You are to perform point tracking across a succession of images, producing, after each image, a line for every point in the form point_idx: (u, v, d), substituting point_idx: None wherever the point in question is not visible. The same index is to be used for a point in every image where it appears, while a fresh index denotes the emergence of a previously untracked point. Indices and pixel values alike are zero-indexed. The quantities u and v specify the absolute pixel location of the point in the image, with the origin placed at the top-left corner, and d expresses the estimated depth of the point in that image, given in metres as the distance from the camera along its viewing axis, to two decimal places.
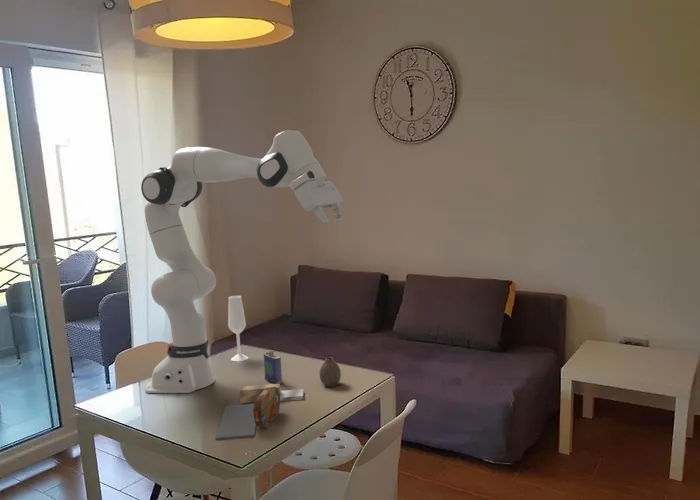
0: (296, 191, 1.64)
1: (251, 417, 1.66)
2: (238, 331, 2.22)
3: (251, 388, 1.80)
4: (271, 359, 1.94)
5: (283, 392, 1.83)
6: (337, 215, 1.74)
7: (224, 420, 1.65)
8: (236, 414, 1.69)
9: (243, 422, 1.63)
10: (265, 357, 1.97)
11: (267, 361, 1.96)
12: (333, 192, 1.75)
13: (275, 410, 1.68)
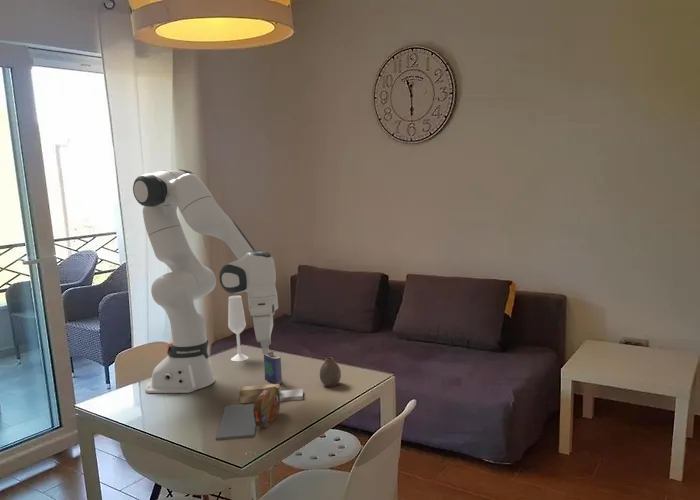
0: (256, 320, 1.69)
1: (251, 417, 1.66)
2: (238, 331, 2.22)
3: (251, 388, 1.80)
4: (271, 359, 1.94)
5: (283, 392, 1.83)
6: (267, 341, 1.83)
7: (224, 420, 1.65)
8: (236, 414, 1.69)
9: (243, 422, 1.63)
10: (265, 357, 1.97)
11: (267, 361, 1.96)
12: None
13: (275, 410, 1.68)
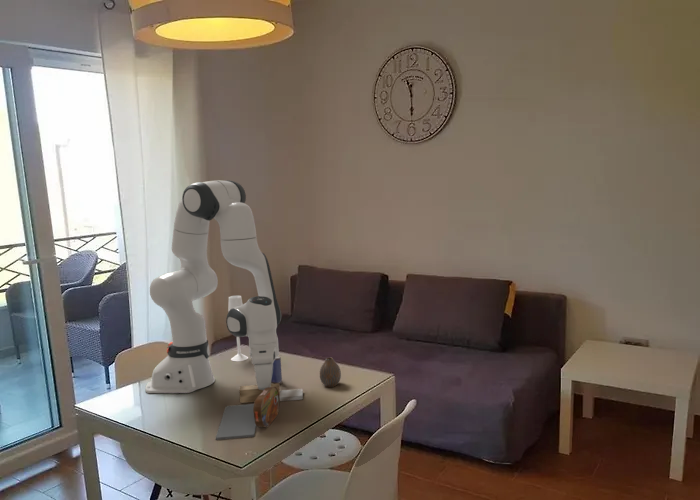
0: (257, 368, 1.71)
1: (251, 417, 1.66)
2: None
3: (251, 388, 1.80)
4: None
5: (283, 392, 1.83)
6: None
7: (224, 420, 1.65)
8: (236, 414, 1.69)
9: (243, 422, 1.63)
10: None
11: None
12: None
13: (275, 410, 1.68)
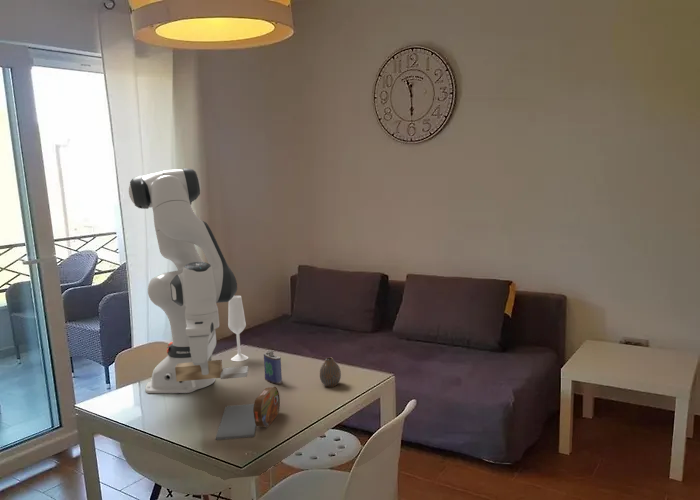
0: (192, 341, 1.52)
1: (251, 417, 1.66)
2: (238, 331, 2.22)
3: (188, 365, 1.61)
4: (271, 359, 1.94)
5: (225, 370, 1.63)
6: None
7: (224, 420, 1.65)
8: (236, 414, 1.69)
9: (243, 422, 1.63)
10: (265, 357, 1.97)
11: (267, 361, 1.96)
12: (213, 337, 1.67)
13: (275, 410, 1.68)
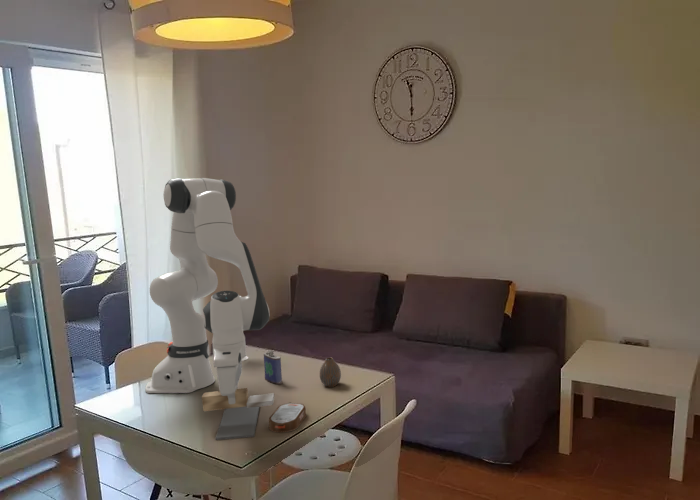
0: (220, 372, 1.52)
1: (251, 417, 1.66)
2: None
3: (215, 394, 1.61)
4: (271, 359, 1.94)
5: (252, 398, 1.64)
6: None
7: (224, 420, 1.65)
8: (236, 414, 1.69)
9: (243, 422, 1.63)
10: (265, 357, 1.97)
11: (267, 361, 1.96)
12: (239, 364, 1.67)
13: None
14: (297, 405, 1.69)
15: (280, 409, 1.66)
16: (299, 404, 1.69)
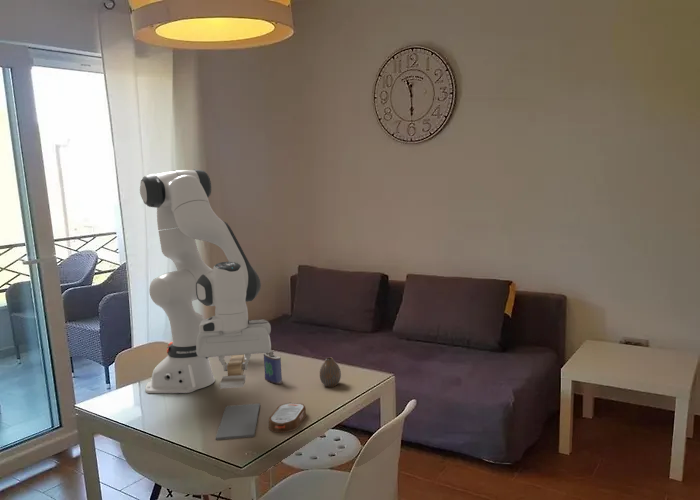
0: None
1: (251, 417, 1.66)
2: None
3: (234, 357, 1.68)
4: (271, 359, 1.94)
5: (237, 376, 1.59)
6: None
7: (224, 420, 1.65)
8: (236, 414, 1.69)
9: (243, 422, 1.63)
10: (265, 357, 1.97)
11: (267, 361, 1.96)
12: (253, 342, 1.61)
13: None
14: (297, 405, 1.69)
15: (280, 409, 1.66)
16: (299, 404, 1.69)
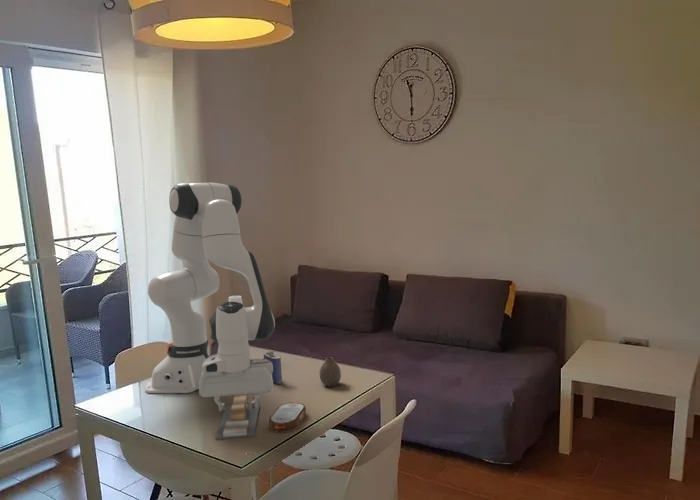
0: (202, 372, 1.64)
1: (251, 417, 1.66)
2: None
3: (237, 399, 1.69)
4: (271, 359, 1.94)
5: (240, 422, 1.60)
6: None
7: (224, 420, 1.65)
8: None
9: None
10: (265, 357, 1.97)
11: None
12: (256, 382, 1.63)
13: None
14: (297, 405, 1.69)
15: (280, 409, 1.66)
16: (299, 404, 1.69)
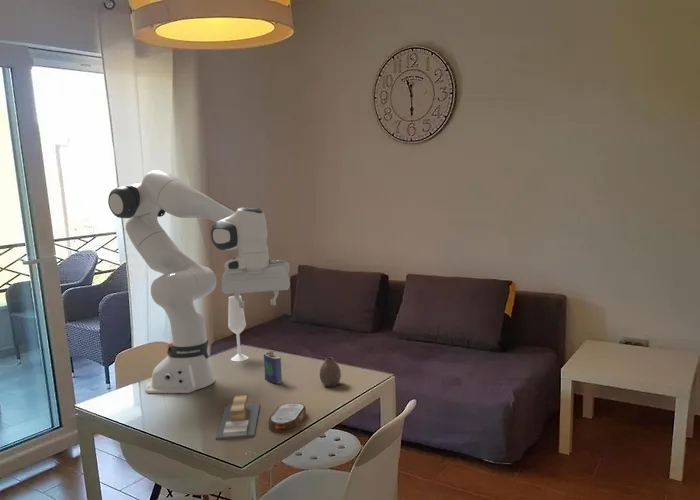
0: None
1: (251, 417, 1.66)
2: (238, 331, 2.22)
3: (237, 399, 1.69)
4: (271, 359, 1.94)
5: (240, 422, 1.60)
6: None
7: (224, 420, 1.65)
8: None
9: None
10: (265, 357, 1.97)
11: (267, 361, 1.96)
12: (274, 279, 1.76)
13: None
14: (297, 405, 1.69)
15: (280, 409, 1.66)
16: (299, 404, 1.69)
